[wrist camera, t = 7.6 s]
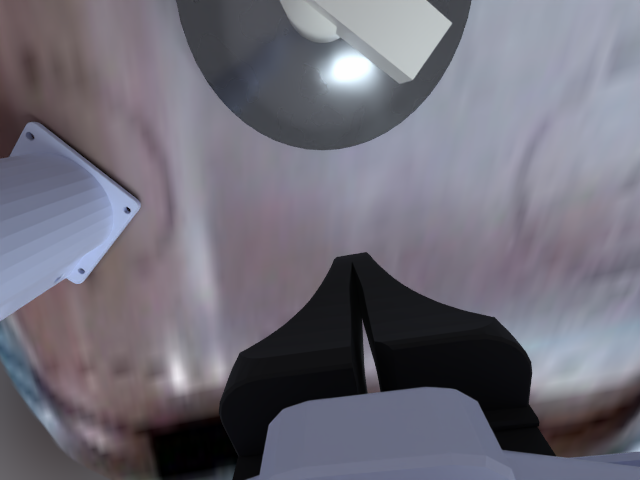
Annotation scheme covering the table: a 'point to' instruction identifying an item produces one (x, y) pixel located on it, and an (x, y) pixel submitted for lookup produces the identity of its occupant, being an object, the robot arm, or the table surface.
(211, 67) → the flange
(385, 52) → the white bar
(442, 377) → the robot arm
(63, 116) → the table surface
